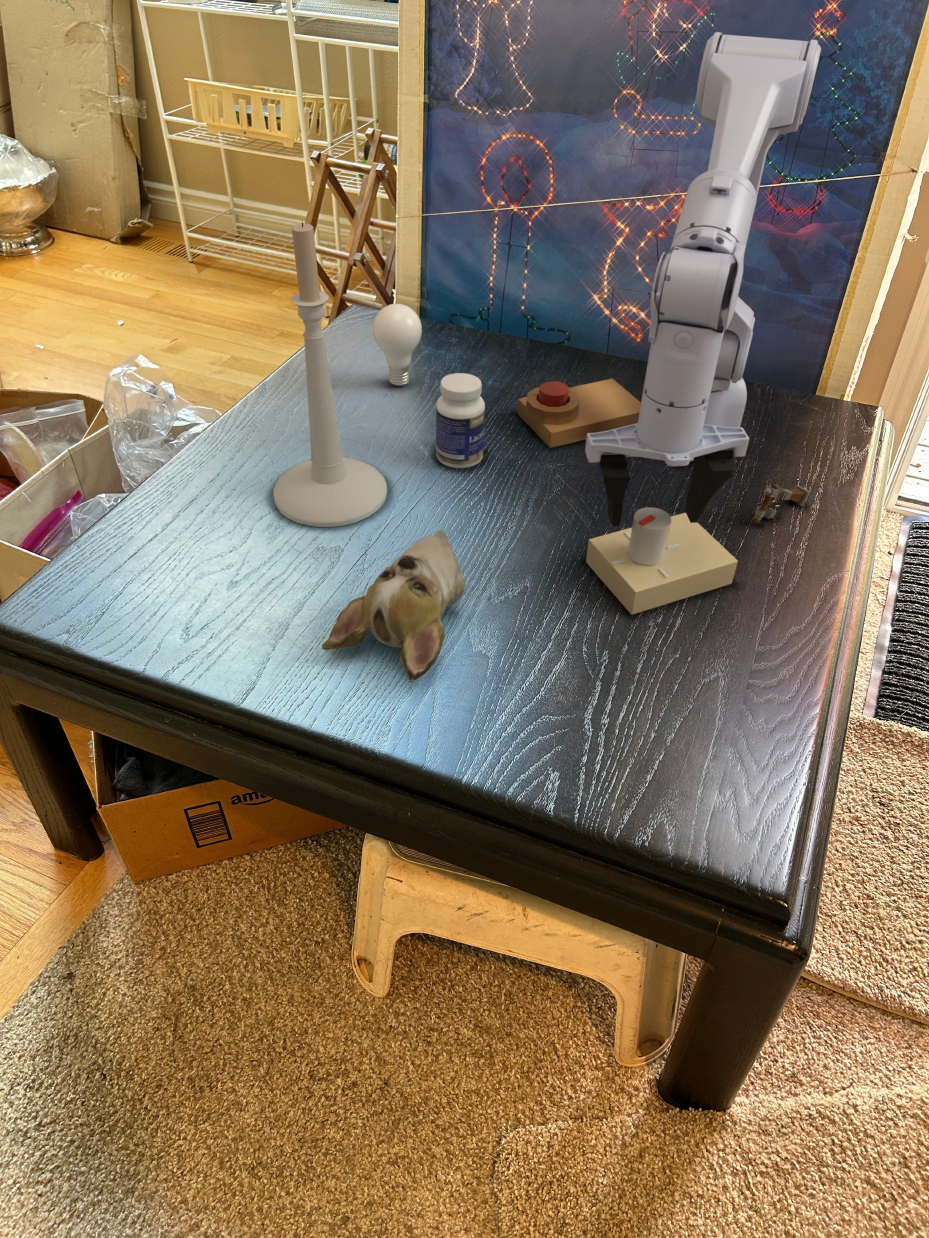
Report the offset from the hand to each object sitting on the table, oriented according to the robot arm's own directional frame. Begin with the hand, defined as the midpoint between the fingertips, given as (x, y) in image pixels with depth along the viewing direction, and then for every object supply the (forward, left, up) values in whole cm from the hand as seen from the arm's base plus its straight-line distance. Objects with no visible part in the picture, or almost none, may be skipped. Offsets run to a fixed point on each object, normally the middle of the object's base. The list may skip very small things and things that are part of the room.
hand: (652, 518), depth 88 cm
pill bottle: (+8, -28, -8) cm, 30 cm away
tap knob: (0, 0, -4) cm, 4 cm away
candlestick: (+25, -27, -8) cm, 37 cm away
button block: (-10, -30, -8) cm, 32 cm away
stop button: (-5, -30, -4) cm, 31 cm away
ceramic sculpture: (+25, -2, -8) cm, 26 cm away
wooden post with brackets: (-20, -3, -8) cm, 22 cm away
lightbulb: (+8, -47, -8) cm, 49 cm away
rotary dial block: (-2, 0, -8) cm, 8 cm away
